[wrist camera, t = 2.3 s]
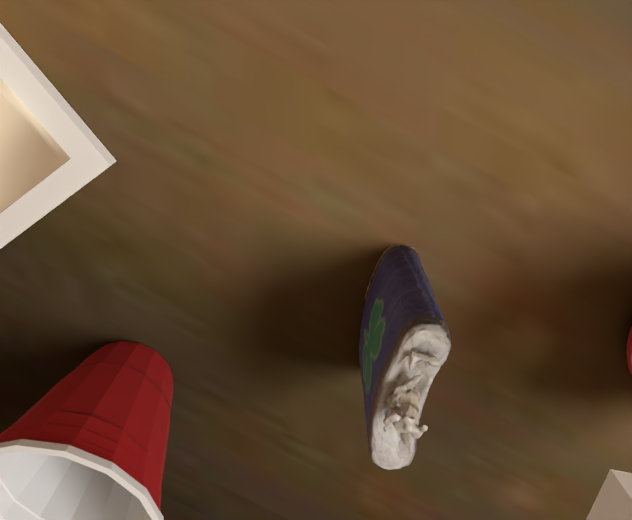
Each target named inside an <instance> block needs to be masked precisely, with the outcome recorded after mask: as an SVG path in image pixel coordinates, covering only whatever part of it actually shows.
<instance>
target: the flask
mask: <svg viewBox="0 0 632 520" xmlns="http://www.w3.org/2000/svg"><path fill="white" fill-rule="evenodd" d="M365 295H366V296H365V300H364V302H363V314H362V319H361V320H362V321H361V326H360V329H361V330H360V335H359V363H360V367H361V376H362V385H363V391H364V404H365V415H366V421H367V436H368V442H369V452H370V456H371V459H372V461H373V462H374V463H375V464H376V465H378V466H380V467H382V468H385V469H387V470H392V469H400V468H402V467H404V466H408V465H409V464H410V463H411V461H412V459H413V457H414V455H415V453H416V445H417V438H419V437H420V436H421V435H422V433H423V432H425V431H427V428H428V427H427V426H426V425H423V426H422V427H419V426H418V424H419V419H420V418H421V412H422V409H423V406H424V402H425V399H426V398H427V394H428V390H429V388H430V386H431V384H432V382H433V379H434V377H435V375H436V374H437V372H438V371H439V370H440V367H441V366H442V365H443V363H444V362H445V361H446V359H447V356H448V354H449V351H450V349H451V337H450V332H449V328H448V326H447V325H446V321H445V320H444V319H443V314H442V313H441V311H440V308H439V306H438V304H437V302H436V299H435V297H434V294H433V292H432V288H431V286H430V283H429V280H428V278H427V277H426V275H425V273H424V270H423V267H422V266H421V262H420V258H419V256H418V253H417V252H416V251H415V249H414V247H410V246H405V245H400V244H397V245H392V246H390V247H389V248H388V249H387V250H386V251H384V252H383V255H382V257H381V258H380V259H379V261H378V262H377V264H376V267H375V270H374V272H373V275H372V277H371V278H370V283H369V285H368V287H367V291H366V293H365Z"/></svg>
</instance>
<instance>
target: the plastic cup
mask: <svg viewBox="0 0 632 520" xmlns="http://www.w3.org/2000/svg"><path fill="white" fill-rule="evenodd" d="M172 397H173V374H172V372H171V370H170V368H169V366H168V363H167V361H166V360H165V359H164V358H162V357H161V356H160V355H159V354H158V353H157V352H156V351H155V350H153V349H151V348H149V347H147V346H145V345H143V344H141V343H136V342H128V341H119V342H114V343H110V344H106V345H105V346H103V347H101V348H99V349H98V350H97V351H95V352H94V353H93V354H91V355H90V356H89V357H87V358H86V359H85V360H84V361H83V362H82V363H81V364H80V365H79V366H78V367H77V368H76V369H75V370H73V371H72V372H71V373H69V374H68V375H66V376H65V377H64V378H63V379H61V380H60V381H59V382H58V383H57V384H56V385H55V386H54V387H53V388H52V389H51V390H50V391H49V392H47V393H46V394H45V395H44V396H43V397H42V398H41V399H40V400H39V401H38V402H37V403H36V404H34V405H33V406H32V407H31V408H30V409H29V410H28V411H27V412H26V413H25V414H24V415H23V416H22V417H20V418H19V419H18V420H17V421H16V422H15V423H14V424H13V425H12V426H10V427H9V428H8V429H6V430H5V431H3V432H2V433H1V434H0V520H163V516H162V514H161V512H160V503H161V484H162V477H163V470H164V463H165V456H166V449H167V442H168V434H169V427H170V410H171V404H172Z"/></svg>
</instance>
